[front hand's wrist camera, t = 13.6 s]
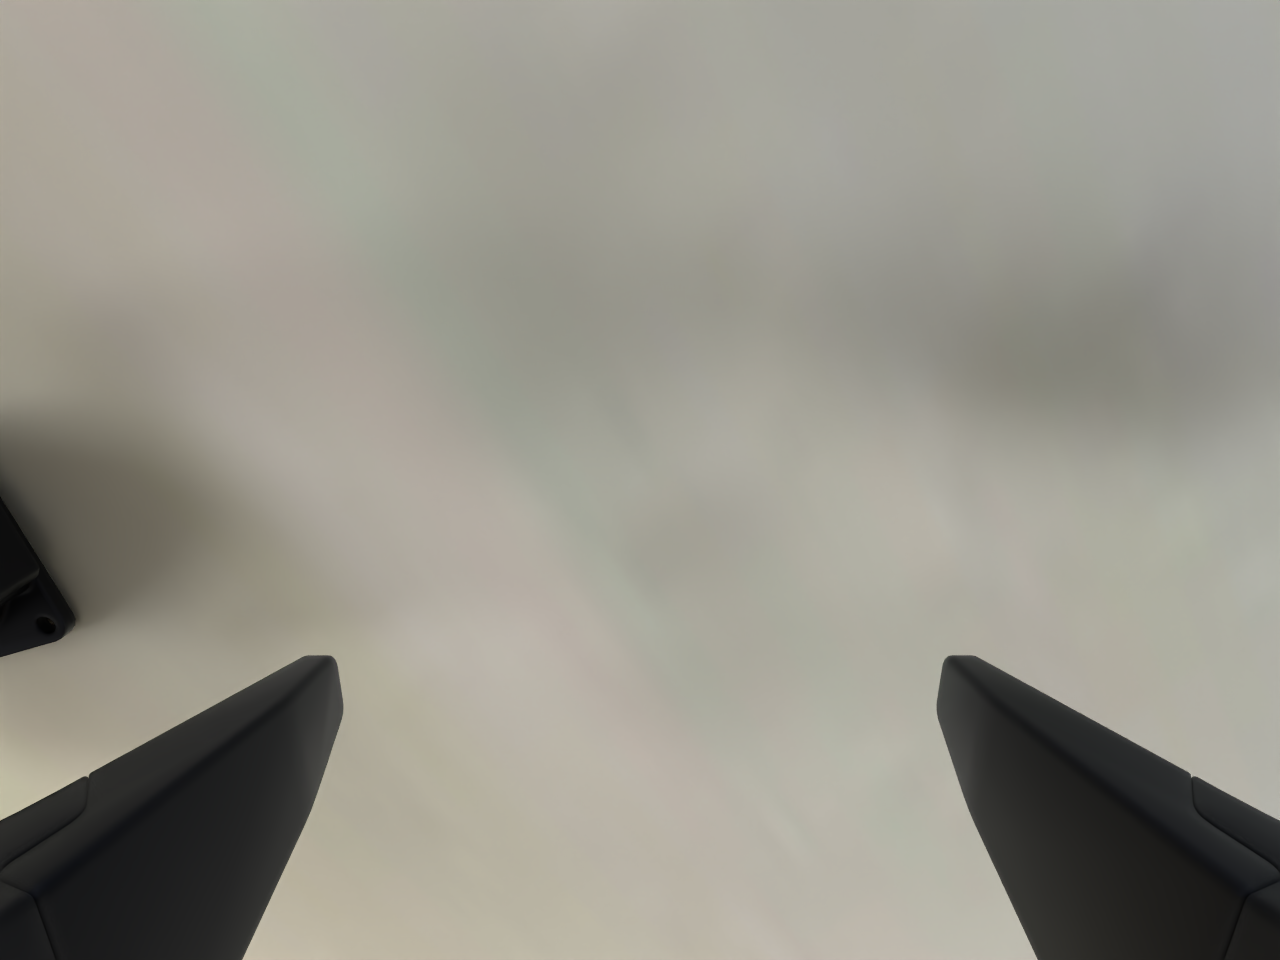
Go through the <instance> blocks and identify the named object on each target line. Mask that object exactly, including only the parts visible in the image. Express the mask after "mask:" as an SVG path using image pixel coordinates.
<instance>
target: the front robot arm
mask: <svg viewBox="0 0 1280 960" xmlns="http://www.w3.org/2000/svg"><path fill="white" fill-rule="evenodd" d="M47 618H49V619H51V620H52V621H53V622H54V623H55V625H53V624H51V623H50V622H49V621H48V619H47ZM75 620H76V619H75V617H74V614H73V612H72V610H71V609H70V607H69V606H68V604H67V602H66V601H65V599H64V598H63V596H62V595H61V593H60V591H59V590H58V588H57V587H56V585H55V583H54V582H53V580H52V579H51V577H50V575H49V574H48V572H47V571H46V569H45V567H44V566H43V564H42V563H41V561H40V559H39V558H38V556H37V555H36V553H35V552H34V550H33V548H32V547H31V545H30V544H29V542H28V540H27V539H26V537H25V536H24V534H23V532H22V531H21V529H20V528H19V526H18V524H17V523H16V521H15V520H14V518H13V516H12V515H11V513H10V512H9V510H8V509H7V507H6V505H5V504H4V502H3V501H2V499H1V497H0V657H3V656H6V655H10V654H13V653H17V652H20V651H24V650H27V649H31V648H34V647H38V646H41V645H45V644H48V643H52V642H55V641H57V640H59V639H61V638H63V637H64V636H65V635H66V634H68V633H69V632H70V631H72V629H73V628H74V626H75ZM342 715H343V698H342V692H341V685H340V679H339V672H338V666H337V663H336V660H335V659H334V658H333V657H332V656H328V655H308V656H304V657H302V658H300V659H298V660H296V661H294V662H293V663H291V664H289V665H287V666H285V667H284V668H282V669H280V670H278V671H276V672H274V673H273V674H271V675H269V676H267V677H265V678H263V679H262V680H260V681H258V682H256V683H254V684H252V685H251V686H249V687H247V688H245V689H243V690H241V691H240V692H238V693H236V694H234V695H232V696H230V697H229V698H227V699H225V700H223V701H221V702H219V703H218V704H216V705H214V706H212V707H210V708H209V709H207V710H205V711H203V712H201V713H199V714H198V715H196V716H194V717H192V718H190V719H188V720H187V721H185V722H183V723H181V724H179V725H177V726H176V727H174V728H172V729H170V730H168V731H166V732H165V733H163V734H161V735H159V736H157V737H155V738H154V739H152V740H150V741H148V742H146V743H144V744H143V745H141V746H139V747H137V748H135V749H134V750H132V751H130V752H128V753H126V754H124V755H123V756H121V757H119V758H117V759H115V760H113V761H112V762H110V763H108V764H106V765H104V766H102V767H101V768H99V769H97V770H95V771H93V772H92V773H90V775H89V778H88V777H86V776H84V777H82V778H80V779H78V780H76V781H75V782H73V783H71V784H69V785H67V786H66V787H64V788H62V789H60V790H58V791H56V792H55V793H53V794H51V795H49V796H47V797H45V798H43V799H41V800H39V801H38V802H36V803H34V804H32V805H30V806H28V807H26V808H24V809H22V810H21V811H19V812H17V813H15V814H13V815H11V816H9V817H7V818H5V819H3V820H1V821H0V960H242V959H243V957H244V955H245V952H246V950H247V948H248V946H249V944H250V942H251V940H252V937H253V935H254V933H255V931H256V929H257V927H258V924H259V922H260V920H261V918H262V916H263V914H264V912H265V909H266V907H267V905H268V903H269V901H270V899H271V896H272V894H273V892H274V890H275V888H276V886H277V884H278V881H279V879H280V877H281V875H282V873H283V871H284V869H285V866H286V864H287V862H288V860H289V858H290V856H291V853H292V851H293V849H294V847H295V845H296V843H297V841H298V838H299V836H300V834H301V832H302V830H303V828H304V825H305V823H306V821H307V818H308V816H309V814H310V812H311V809H312V806H313V804H314V801H315V798H316V795H317V792H318V789H319V786H320V783H321V780H322V777H323V774H324V771H325V768H326V765H327V762H328V759H329V756H330V753H331V750H332V747H333V744H334V741H335V738H336V735H337V732H338V729H339V726H340V723H341V720H342ZM937 715H938V720H939V723H940V726H941V729H942V732H943V735H944V738H945V741H946V744H947V747H948V750H949V753H950V756H951V759H952V762H953V765H954V768H955V771H956V774H957V777H958V780H959V783H960V786H961V789H962V792H963V795H964V798H965V801H966V804H967V806H968V809H969V812H970V814H971V816H972V818H973V821H974V823H975V825H976V828H977V830H978V832H979V834H980V836H981V838H982V841H983V843H984V845H985V847H986V849H987V851H988V853H989V856H990V858H991V860H992V862H993V864H994V866H995V869H996V871H997V873H998V875H999V877H1000V879H1001V881H1002V884H1003V886H1004V888H1005V890H1006V892H1007V894H1008V896H1009V899H1010V901H1011V903H1012V905H1013V907H1014V909H1015V912H1016V914H1017V916H1018V918H1019V920H1020V922H1021V924H1022V927H1023V929H1024V931H1025V933H1026V935H1027V937H1028V940H1029V942H1030V944H1031V946H1032V948H1033V950H1034V952H1035V955H1036V957H1037V959H1038V960H1280V821H1279V820H1277V819H1275V818H1273V817H1271V816H1269V815H1267V814H1265V813H1263V812H1261V811H1259V810H1258V809H1256V808H1254V807H1252V806H1250V805H1248V804H1246V803H1244V802H1242V801H1241V800H1239V799H1237V798H1235V797H1233V796H1231V795H1229V794H1227V793H1225V792H1224V791H1222V790H1220V789H1218V788H1216V787H1214V786H1213V785H1211V784H1209V783H1207V782H1205V781H1204V780H1202V779H1200V778H1198V777H1196V776H1194V777H1192V778H1191V775H1190V773H1189V772H1187V771H1185V770H1183V769H1181V768H1179V767H1178V766H1176V765H1174V764H1172V763H1170V762H1168V761H1167V760H1165V759H1163V758H1161V757H1159V756H1158V755H1156V754H1154V753H1152V752H1150V751H1148V750H1147V749H1145V748H1143V747H1141V746H1139V745H1137V744H1136V743H1134V742H1132V741H1130V740H1128V739H1126V738H1125V737H1123V736H1121V735H1119V734H1117V733H1115V732H1114V731H1112V730H1110V729H1108V728H1106V727H1104V726H1103V725H1101V724H1099V723H1097V722H1095V721H1093V720H1092V719H1090V718H1088V717H1086V716H1084V715H1082V714H1081V713H1079V712H1077V711H1075V710H1073V709H1071V708H1070V707H1068V706H1066V705H1064V704H1062V703H1060V702H1059V701H1057V700H1055V699H1053V698H1051V697H1050V696H1048V695H1046V694H1044V693H1042V692H1040V691H1039V690H1037V689H1035V688H1033V687H1031V686H1029V685H1028V684H1026V683H1024V682H1022V681H1020V680H1018V679H1017V678H1015V677H1013V676H1011V675H1009V674H1007V673H1006V672H1004V671H1002V670H1000V669H998V668H996V667H995V666H993V665H991V664H989V663H987V662H986V661H984V660H982V659H980V658H978V657H976V656H972V655H952V656H948V657H947V658H946V659H945V660H944V663H943V666H942V672H941V679H940V685H939V692H938V698H937Z"/></svg>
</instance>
